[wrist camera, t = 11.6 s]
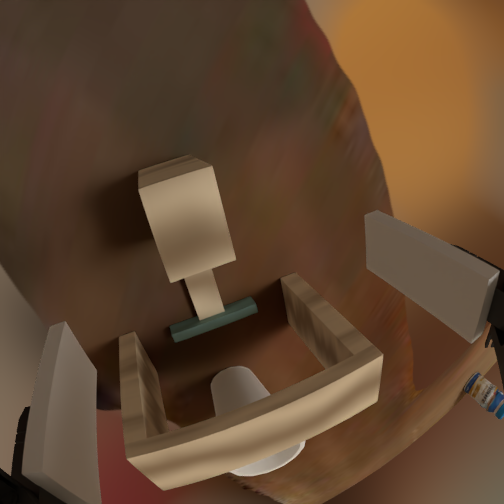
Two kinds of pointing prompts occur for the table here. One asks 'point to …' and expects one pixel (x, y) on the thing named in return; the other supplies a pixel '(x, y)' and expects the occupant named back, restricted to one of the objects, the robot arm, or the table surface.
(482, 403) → the beverage bottle
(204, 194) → the squeegee
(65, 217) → the table surface
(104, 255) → the table surface
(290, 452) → the foam cup
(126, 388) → the shelf
